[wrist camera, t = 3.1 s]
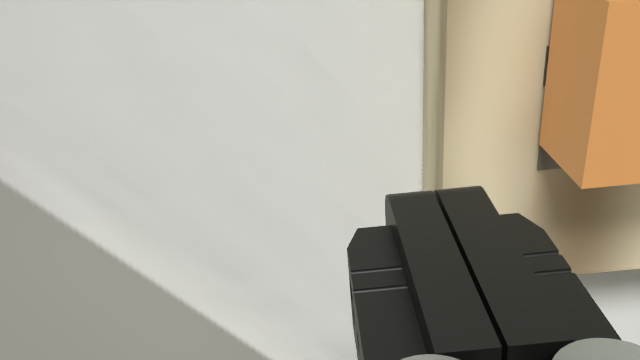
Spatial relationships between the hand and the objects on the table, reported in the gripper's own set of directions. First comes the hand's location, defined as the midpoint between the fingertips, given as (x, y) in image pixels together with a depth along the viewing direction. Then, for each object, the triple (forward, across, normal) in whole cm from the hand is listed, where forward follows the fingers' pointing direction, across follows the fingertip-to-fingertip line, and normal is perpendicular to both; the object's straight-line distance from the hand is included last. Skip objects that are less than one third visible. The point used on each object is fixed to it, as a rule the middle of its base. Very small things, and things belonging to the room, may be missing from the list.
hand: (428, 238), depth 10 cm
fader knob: (+9, -7, 0) cm, 12 cm away
